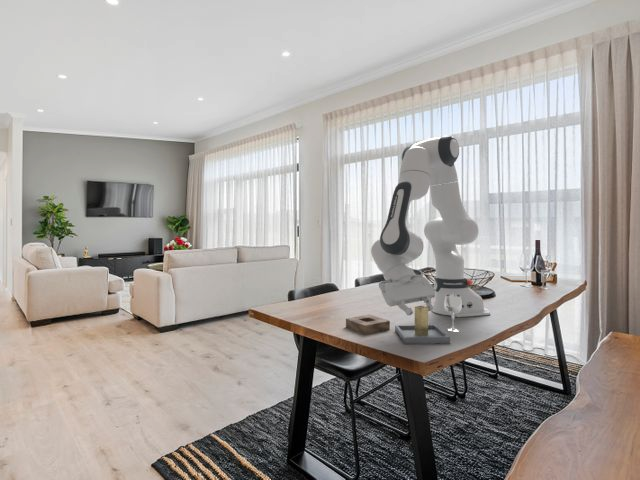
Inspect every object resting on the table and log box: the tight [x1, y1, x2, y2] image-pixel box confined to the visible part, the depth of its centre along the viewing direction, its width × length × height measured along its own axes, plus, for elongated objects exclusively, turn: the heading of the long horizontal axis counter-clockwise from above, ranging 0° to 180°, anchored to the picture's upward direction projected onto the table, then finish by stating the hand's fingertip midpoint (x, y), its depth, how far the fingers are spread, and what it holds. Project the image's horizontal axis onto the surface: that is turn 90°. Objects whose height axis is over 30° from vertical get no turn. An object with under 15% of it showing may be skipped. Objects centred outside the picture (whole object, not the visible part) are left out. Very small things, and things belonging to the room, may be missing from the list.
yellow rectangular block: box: [414, 305, 429, 336], centre depth 123 cm, size 3×3×9 cm
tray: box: [394, 324, 451, 345], centre depth 123 cm, size 14×14×2 cm
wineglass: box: [444, 294, 462, 333], centre depth 130 cm, size 6×6×12 cm
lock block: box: [345, 314, 391, 335], centre depth 134 cm, size 11×11×3 cm
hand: (421, 312), depth 123 cm, fingers open, 8 cm apart
